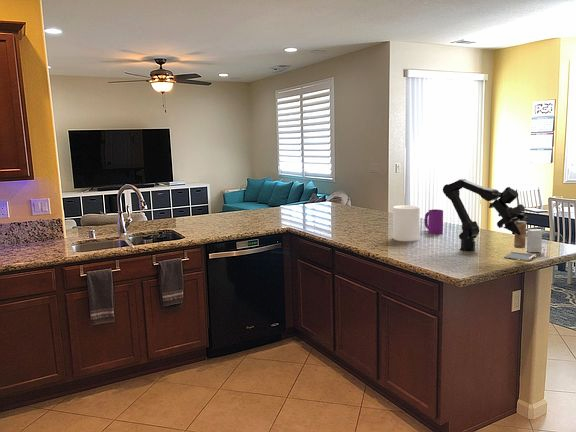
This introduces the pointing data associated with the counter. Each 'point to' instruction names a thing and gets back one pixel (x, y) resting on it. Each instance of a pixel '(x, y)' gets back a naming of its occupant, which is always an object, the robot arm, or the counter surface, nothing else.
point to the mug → (434, 221)
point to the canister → (406, 223)
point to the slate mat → (520, 255)
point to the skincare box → (534, 240)
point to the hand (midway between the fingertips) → (522, 233)
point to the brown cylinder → (520, 239)
